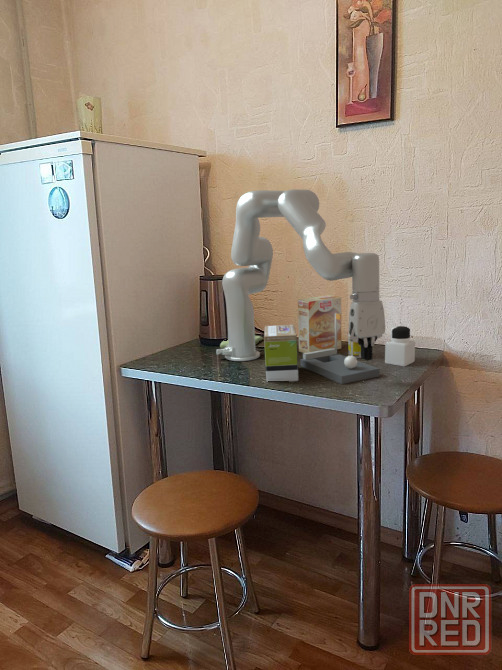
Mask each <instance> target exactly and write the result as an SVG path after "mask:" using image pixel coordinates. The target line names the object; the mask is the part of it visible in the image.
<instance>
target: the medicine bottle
mask: <svg viewBox="0 0 502 670" xmlns="http://www.w3.org/2000/svg"><path fill="white" fill-rule="evenodd" d="M384 344H385V345H384V363H385V364H387V365H394V366H401V367H406V366H409V365H411V364H414V363H415V358H416V356H415V355H416V341H415V340H411V329H410V328H409V327H408V326H405V325H404V326H403V325H397V326H396V325H395V326H393V327H391V328H390V340H389V341H386V342H384Z"/></svg>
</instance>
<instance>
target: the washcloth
mask: <svg viewBox="0 0 502 670" xmlns="http://www.w3.org/2000/svg"><path fill="white" fill-rule="evenodd" d="M262 340H263V341H264V338H263V337H262V336H260V335H255V346H256V345H257V344H259V343H260V342H261V341H262ZM259 341H260V342H259ZM226 345H229V342H228V340H227V341H224V340H223V341H221V343H220V344H219V348H220V349H224V348H225V347H226Z"/></svg>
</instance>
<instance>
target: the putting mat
mask: <svg viewBox="0 0 502 670" xmlns="http://www.w3.org/2000/svg"><path fill="white" fill-rule="evenodd" d="M337 319H338V320H341V321H342V313H341V314H337V313H335V349H334V348H331V349H325V350H320V351H314V352H308V353H303V352H302V358H300V367H302V368H304V369H306V370H309V371H311V372H313V373H316V374H318V375H320V376H322V377H325V378H327V379H329V380H331V381H334V382H336V383H338V384H340V385H344V384H349V383H353V382H359V381H363V380H367V379H372V378H377V377H380V375H381V374H380V373H381V372H380V369H381V368H379V367H376V366H374V365H370V364H368V363H365V362H362V361H360V360H357V366H356V367H355V368H353V369H349V368H347V367H346V366H345V364H344V360H345V358H346V357H347V356H346V355H343V354H340V353H338V349H337Z"/></svg>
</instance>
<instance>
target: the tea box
mask: <svg viewBox="0 0 502 670" xmlns="http://www.w3.org/2000/svg"><path fill="white" fill-rule="evenodd" d="M263 337H264V338H263V341H264V343H263V344H264V361H265V365H264V366H265V377H266V379H265V380H266V382H267V383H269V382H268V381H289V382H298V381H299V360H298V359H299V358H298V357H299V355H298V354H299V353H298V352H299V350H298V337H297V332H296V328H295V324H282V325H280V324H279V325H264V335H263Z"/></svg>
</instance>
